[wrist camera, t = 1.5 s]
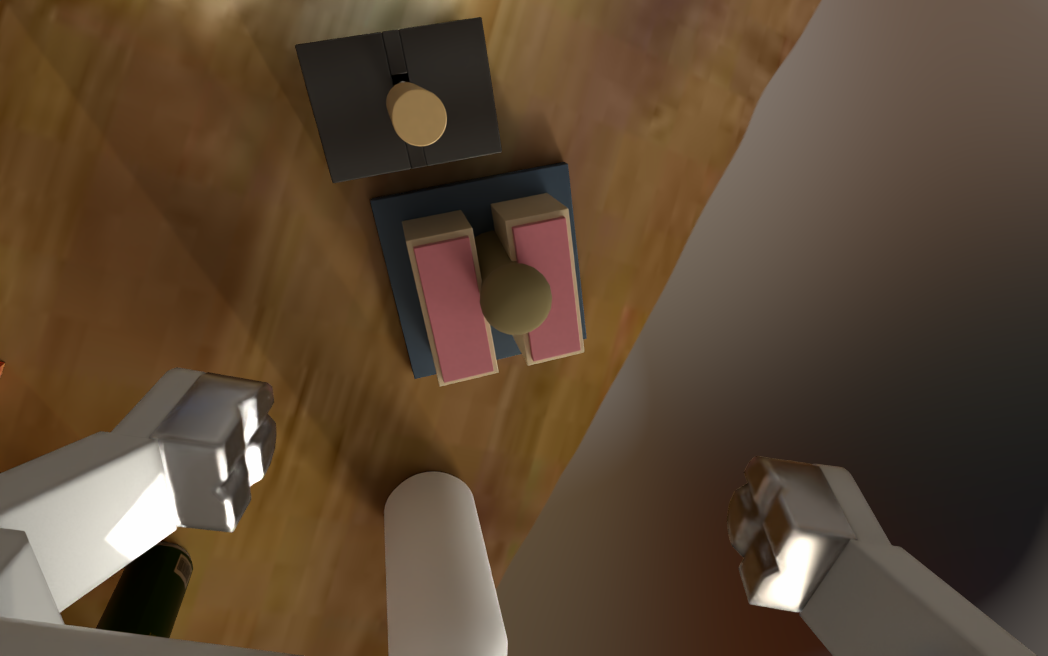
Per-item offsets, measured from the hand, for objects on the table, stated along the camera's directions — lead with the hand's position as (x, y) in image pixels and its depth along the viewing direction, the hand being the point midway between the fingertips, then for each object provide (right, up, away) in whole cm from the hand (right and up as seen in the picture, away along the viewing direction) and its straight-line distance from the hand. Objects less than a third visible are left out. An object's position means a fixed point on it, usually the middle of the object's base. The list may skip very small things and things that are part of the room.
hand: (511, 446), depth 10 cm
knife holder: (-9, +19, +35) cm, 41 cm away
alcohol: (-9, -15, +50) cm, 53 cm away
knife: (-9, +19, +35) cm, 41 cm away
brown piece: (-2, +8, +42) cm, 42 cm away
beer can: (-33, -20, +46) cm, 60 cm away
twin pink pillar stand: (-3, +7, +42) cm, 43 cm away
